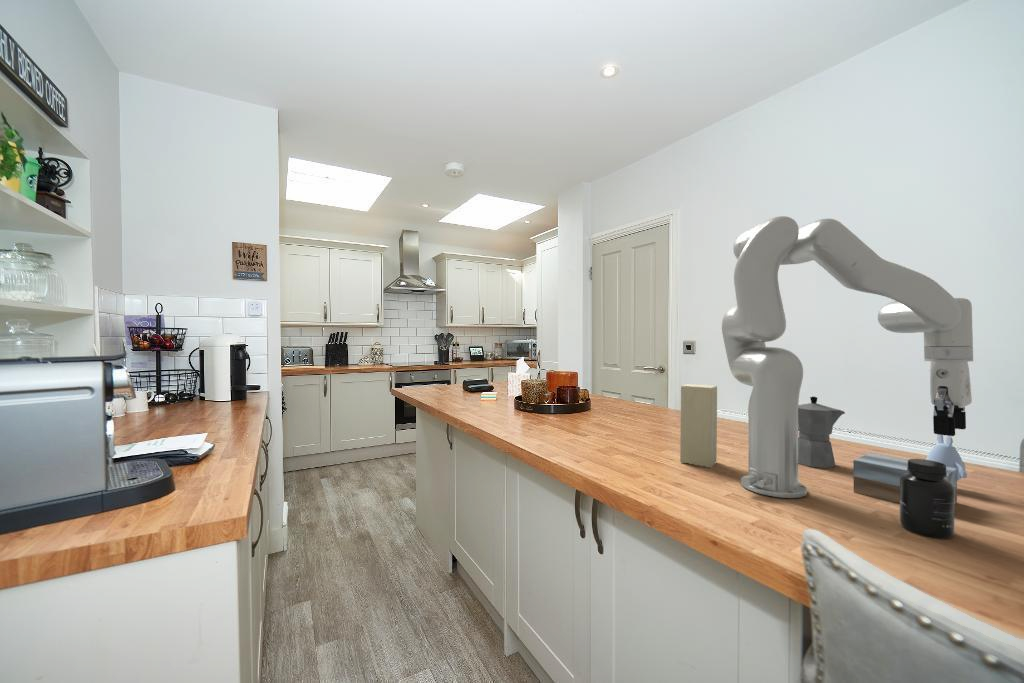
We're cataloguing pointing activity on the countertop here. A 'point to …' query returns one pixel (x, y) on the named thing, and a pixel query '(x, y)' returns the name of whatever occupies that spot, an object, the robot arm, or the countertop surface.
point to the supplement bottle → (927, 499)
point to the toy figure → (947, 456)
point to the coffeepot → (816, 434)
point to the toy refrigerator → (698, 424)
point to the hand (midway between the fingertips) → (950, 431)
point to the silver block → (886, 476)
